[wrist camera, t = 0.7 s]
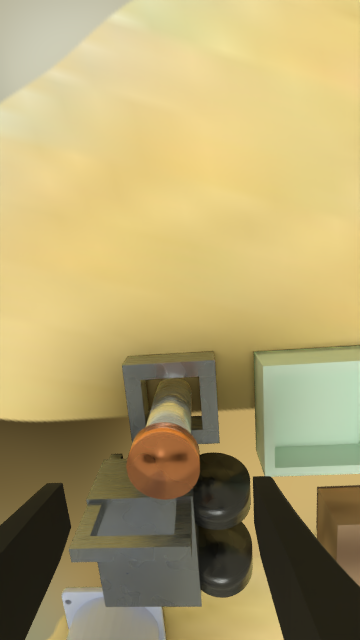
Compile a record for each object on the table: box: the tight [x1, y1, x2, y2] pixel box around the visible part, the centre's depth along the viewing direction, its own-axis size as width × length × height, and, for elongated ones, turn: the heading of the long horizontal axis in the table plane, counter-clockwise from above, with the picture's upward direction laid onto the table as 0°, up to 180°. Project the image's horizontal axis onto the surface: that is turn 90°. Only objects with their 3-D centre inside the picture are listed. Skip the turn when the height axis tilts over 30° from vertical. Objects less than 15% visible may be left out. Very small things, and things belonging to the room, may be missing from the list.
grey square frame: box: [122, 351, 220, 444], centre depth 18 cm, size 6×6×2 cm
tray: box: [254, 345, 360, 477], centre depth 17 cm, size 7×7×2 cm
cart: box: [69, 453, 253, 607], centre depth 17 cm, size 8×10×7 cm
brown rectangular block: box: [316, 485, 360, 586], centre depth 19 cm, size 5×4×3 cm
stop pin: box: [126, 378, 200, 500], centre depth 16 cm, size 3×3×7 cm
